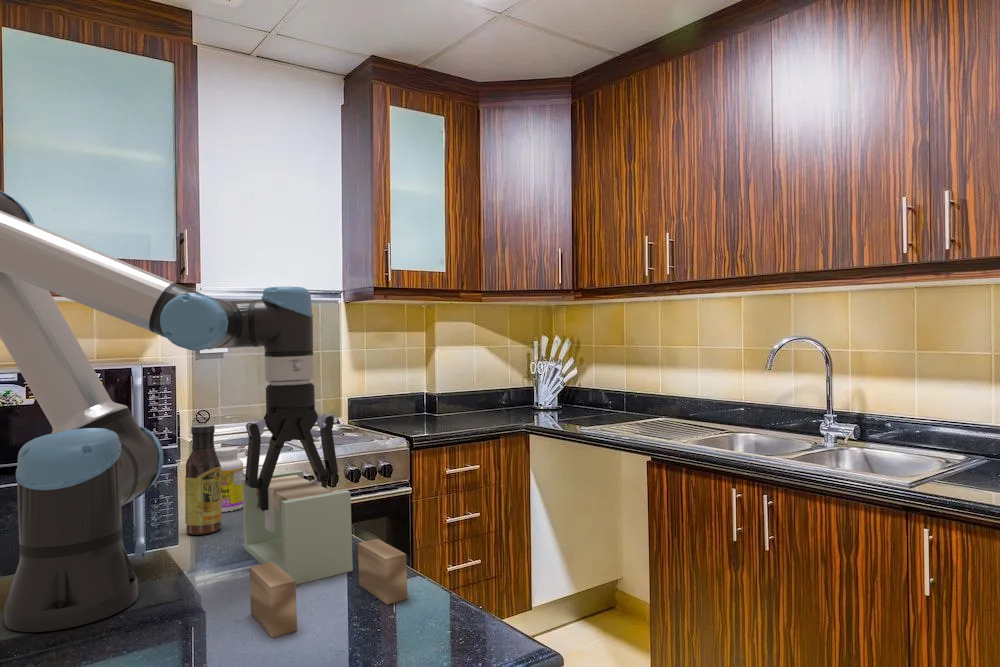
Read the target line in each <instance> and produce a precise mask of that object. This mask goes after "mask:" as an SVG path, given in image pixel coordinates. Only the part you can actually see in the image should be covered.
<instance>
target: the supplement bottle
mask: <svg viewBox="0 0 1000 667" xmlns="http://www.w3.org/2000/svg"><path fill="white" fill-rule="evenodd" d="M214 449H215V448H214ZM215 452H216V454H217V457H218V460H219V462H220V465H221V491H222V497H221V499H222V513H228V511H230V512H234V510H235V511H237V509H238V510H240V509H243V485H242V479H243V478H244V463H243V460H242V459H240V458H238V454H239V448H238V447H237V446H225V447H218V448H216V449H215Z"/></svg>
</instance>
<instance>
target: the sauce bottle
mask: <svg viewBox="0 0 1000 667" xmlns="http://www.w3.org/2000/svg"><path fill="white" fill-rule="evenodd" d="M190 427H191V430H190V433H191V435H192V437H191V438H192V442H191V443H192V446H191V448H192V451H191V453H190V455H189V456H188V458H187V459H186V463H185V477H184V482H185V483H184V486H185V487H184V488H185V489H184V490H185V491H184V492H185V493H184V494H185V495H184V496H185V498H184V499H185V500H184V501H185V514H184V515H185V519H184V521H185V524H186V533H187V534H188V535H192V536H194V535H196V536H199V535H207V534H210V533H211V534H212V533H215V532H218V531H219V530H220V529H221V526H222V520H223V518H222V517H223V514H222V513H223V512H222V499H221V497H222V491H221V465H220V462H219V460H218V457H217V454H216V452H215V438H214V437H215V436H214V435H215V431H216V430H215V429H216V427H215V425H214V424H200V425H192V426H190Z"/></svg>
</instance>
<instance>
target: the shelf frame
mask: <svg viewBox="0 0 1000 667" xmlns="http://www.w3.org/2000/svg"><path fill="white" fill-rule="evenodd" d="M292 475H297V476H300V477H302V478H304V471H303V470H301V469H300V470H299V469H298V470H292V471H286V472H278V473H273V476H272V478H279V477H285V476H292ZM258 478H259V475H258ZM257 480H258V479H257ZM242 485H243V507H242V509H243V513H242V516H243V544H244V546H243V548H244V549H243V550H245V551H246V552H247V553H248V554H250V556H251V557H252V558H254V559H255V560H256V561H257V562H258V563H259V564H260V565H261V564H266V563H270V562H274V563H275V564H276V565H277V566H278V567H280V568H281V569H282V570H283V571H284V572H286V573H287V574H288V575H289V576H290V577H291V578H293V579H294V580H295V581H296V586H297V585H300V584H304V583H308V582H309V583H310V582H312V581H317V580H321V579H325V578H329V577H333V576H337V575H341V574H346V573H349V572H353V570H354V569H353V566H354V565H353V564H354V563H353V539H352V538H353V536H352V535H353V534H352V533H353V531H352V528H353V527H352V504H351V503H352V502H351V501H352V498H351V497H352V496H351V491H349V490H347V489H345V490H340V491H339V490H338V491H333V492H332V493H326V494H320V495H315V496H309V497H303V498H297V499H291V500H285V501H281V511H282V512H281V511H279V510H278V509H276V508H274V510H275V531H273V532H269V531H268V530H267V529H265V510H263V511H262V510H260V509H259V507H258V497H257V496H256V493H255V488H251V487H249V486H247V485H246V484H245V477H243V479H242Z"/></svg>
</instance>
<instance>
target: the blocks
mask: <svg viewBox="0 0 1000 667" xmlns="http://www.w3.org/2000/svg"><path fill="white" fill-rule="evenodd" d="M357 549H358V550H357V556H358V559H357V560H358V586H360V587H361V588H362V589H364V590H365V591H367V592H368V593H370V594H371V595H373V596H374V597H376V598H377V599H378V600H380V601H382V602H383V603H385V604H386V605H391V604H394V603H398V602H401V601H405V600H408V575H407V574H408V570H407V568H408V566H407V564H408V563H407V554H406V553H405V552H403V551H402V550H400V549H398V548H395V547H393V546H392V545H390V544H388V543H386V542H384V541H383V540H381V539H378V538H375V539H371V540H370V539H369V540H366V541H360V542H357ZM249 590H250V591H249V593H250V597H249V598H250V614H251V615H252V617H253V618H254V619H255V620H256V621H257V622H258V624H260V627H261V626H262V628H263V629H264V631H265V632H266V633H267V634H268V635H269V636H270V637H271V638H276V637H281V636H283V635H287V634H290V633H294V632H297V631H298V620H297V618H298V615H297V585H296V581H295V580H294V579H293V578H291V577H290V576H289V575H288V574H287V573H286V572H284V571H283V570H282V569H281V568H280V567H278V566H277V565H276V564H275V563H274V562H270V563H266V564H261V563H260V564H257V565H253V566H249Z"/></svg>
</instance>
